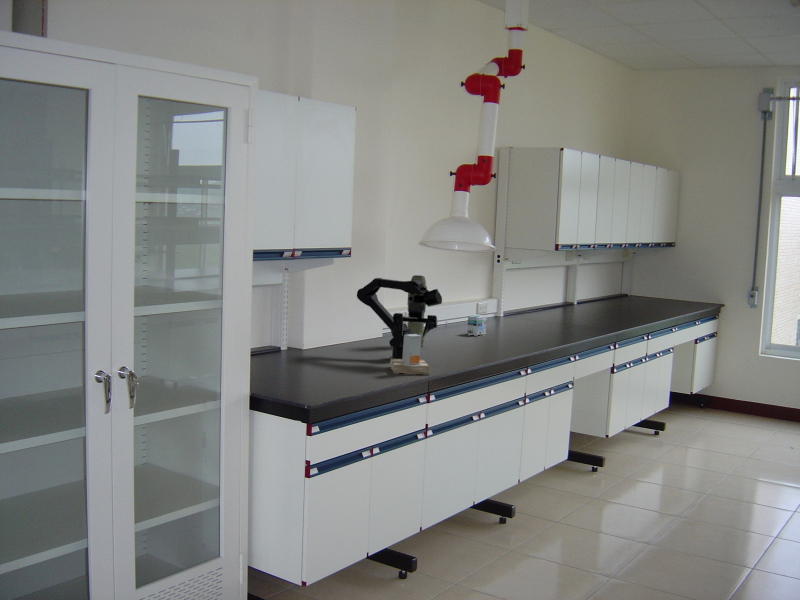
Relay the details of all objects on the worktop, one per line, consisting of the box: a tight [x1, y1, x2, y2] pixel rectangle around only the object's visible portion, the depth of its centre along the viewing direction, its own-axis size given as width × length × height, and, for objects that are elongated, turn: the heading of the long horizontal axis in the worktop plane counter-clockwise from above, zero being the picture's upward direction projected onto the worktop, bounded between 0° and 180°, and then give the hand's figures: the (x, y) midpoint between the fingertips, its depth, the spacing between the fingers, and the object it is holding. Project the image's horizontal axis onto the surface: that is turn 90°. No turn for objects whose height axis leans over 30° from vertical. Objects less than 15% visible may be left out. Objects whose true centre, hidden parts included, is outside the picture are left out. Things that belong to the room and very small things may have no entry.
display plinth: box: [389, 358, 430, 376], centre depth 308 cm, size 15×14×4 cm
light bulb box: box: [466, 314, 488, 335], centre depth 417 cm, size 11×7×11 cm, turn 147°
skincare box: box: [402, 334, 422, 365], centre depth 304 cm, size 6×4×12 cm
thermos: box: [407, 274, 428, 348], centre depth 367 cm, size 9×12×35 cm
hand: (412, 336), depth 315 cm, fingers open, 9 cm apart
